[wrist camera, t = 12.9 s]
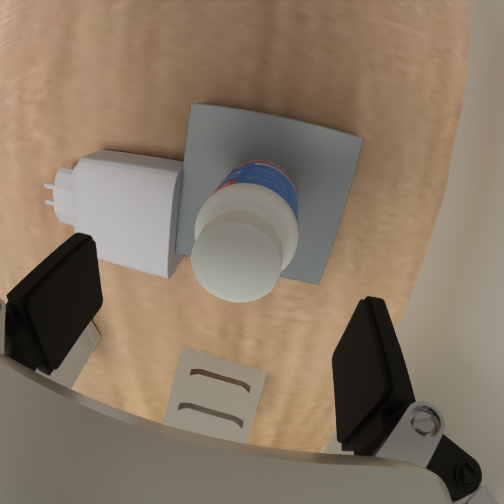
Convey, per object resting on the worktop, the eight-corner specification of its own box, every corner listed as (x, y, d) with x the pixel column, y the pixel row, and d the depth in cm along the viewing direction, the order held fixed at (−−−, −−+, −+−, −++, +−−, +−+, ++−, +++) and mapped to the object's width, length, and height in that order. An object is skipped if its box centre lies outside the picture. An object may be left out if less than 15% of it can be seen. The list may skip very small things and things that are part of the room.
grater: (267, 371, 34) (244, 532, 17) (244, 412, 39) (220, 539, 22) (182, 345, 34) (121, 499, 17) (174, 391, 39) (129, 513, 22)
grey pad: (203, 103, 22) (191, 103, 19) (355, 134, 21) (363, 138, 19) (186, 237, 27) (175, 252, 25) (316, 266, 27) (318, 284, 24)
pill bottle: (239, 146, 20) (199, 181, 11) (310, 179, 21) (324, 238, 12) (211, 213, 23) (163, 285, 14) (276, 242, 23) (265, 330, 15)
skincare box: (49, 289, 34) (-18, 362, 21) (78, 287, 32) (6, 371, 19) (76, 338, 37) (24, 413, 24) (105, 340, 36) (52, 425, 23)
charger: (59, 143, 24) (196, 161, 24) (62, 225, 29) (184, 256, 29) (28, 153, 20) (176, 174, 20) (36, 244, 25) (167, 283, 24)
